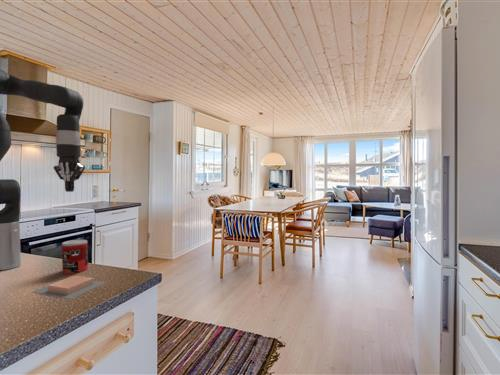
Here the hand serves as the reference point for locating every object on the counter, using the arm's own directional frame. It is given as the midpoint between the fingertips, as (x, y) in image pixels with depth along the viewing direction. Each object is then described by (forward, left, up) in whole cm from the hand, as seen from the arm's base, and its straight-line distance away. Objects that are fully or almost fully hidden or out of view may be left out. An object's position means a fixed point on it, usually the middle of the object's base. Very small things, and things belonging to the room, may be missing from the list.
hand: (69, 191), depth 109 cm
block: (+13, -15, -27) cm, 34 cm away
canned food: (+4, -2, -29) cm, 30 cm away
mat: (+17, -15, -29) cm, 36 cm away
